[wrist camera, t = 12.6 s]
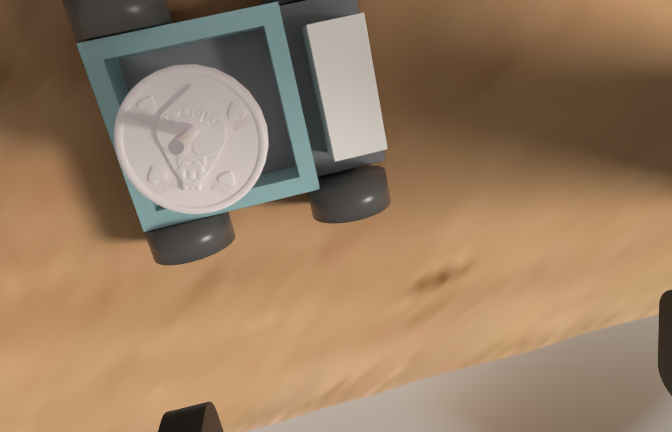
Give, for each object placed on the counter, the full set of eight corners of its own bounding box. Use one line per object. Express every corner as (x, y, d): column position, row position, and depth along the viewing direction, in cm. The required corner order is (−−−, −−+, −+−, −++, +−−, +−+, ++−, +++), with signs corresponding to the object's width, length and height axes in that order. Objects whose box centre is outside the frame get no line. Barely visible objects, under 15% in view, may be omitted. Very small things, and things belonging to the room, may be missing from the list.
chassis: (345, -46, 30) (363, -66, 25) (386, 187, 34) (408, 207, 30) (71, 9, 28) (35, 0, 23) (154, 244, 33) (138, 275, 28)
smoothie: (268, 67, 30) (276, 73, 17) (263, 173, 32) (267, 254, 18) (155, 57, 29) (68, 56, 15) (157, 167, 31) (80, 249, 17)
